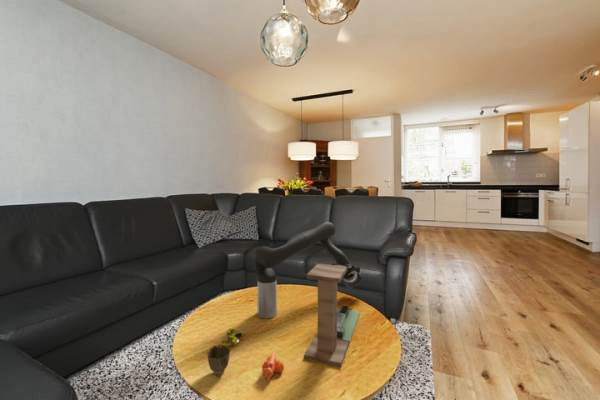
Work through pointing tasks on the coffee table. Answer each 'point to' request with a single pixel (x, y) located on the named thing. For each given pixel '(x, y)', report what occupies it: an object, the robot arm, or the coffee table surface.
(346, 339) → the mat
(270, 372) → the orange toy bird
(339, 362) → the stand
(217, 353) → the cup
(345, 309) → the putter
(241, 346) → the coffee table surface
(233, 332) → the toy motorcycle
